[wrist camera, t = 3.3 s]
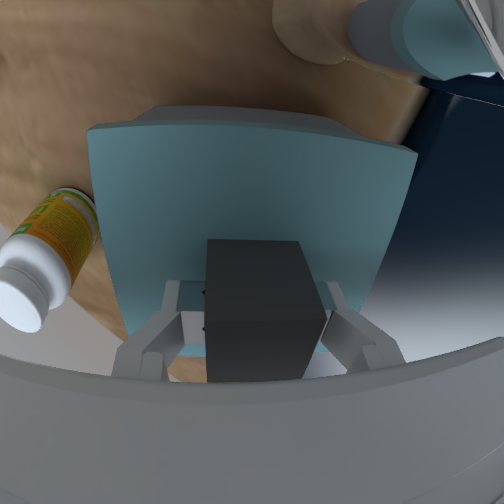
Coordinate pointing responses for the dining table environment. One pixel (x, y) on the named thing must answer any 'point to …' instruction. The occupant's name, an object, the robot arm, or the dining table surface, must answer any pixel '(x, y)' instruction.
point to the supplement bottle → (46, 257)
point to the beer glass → (403, 40)
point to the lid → (245, 229)
